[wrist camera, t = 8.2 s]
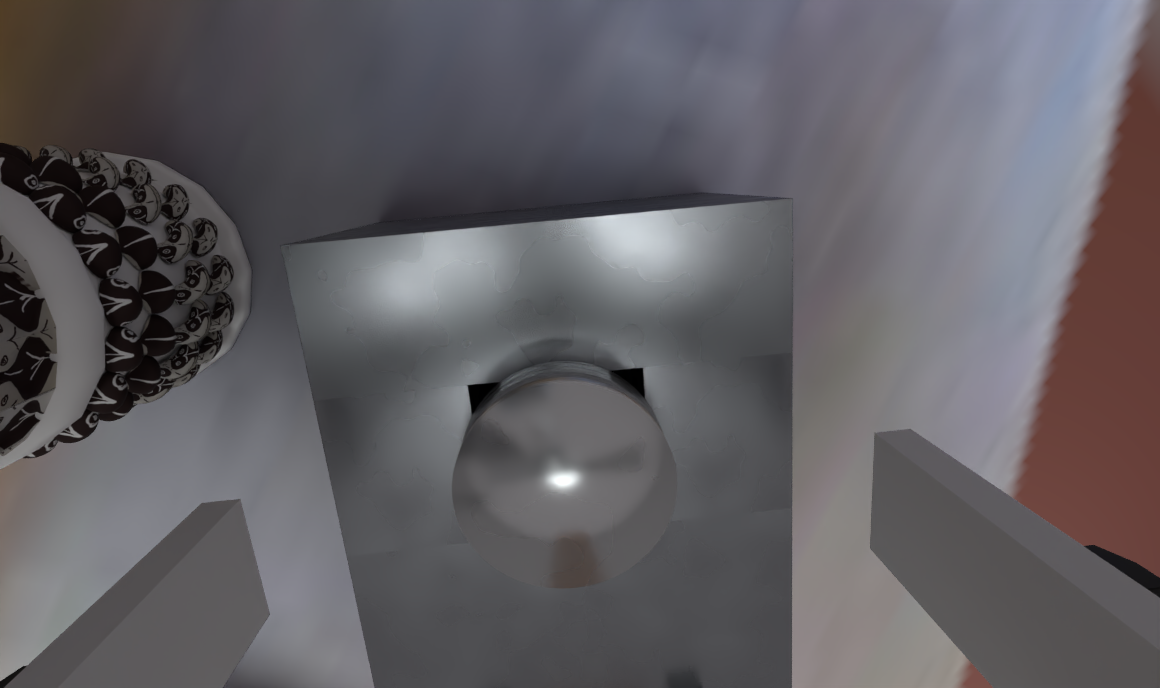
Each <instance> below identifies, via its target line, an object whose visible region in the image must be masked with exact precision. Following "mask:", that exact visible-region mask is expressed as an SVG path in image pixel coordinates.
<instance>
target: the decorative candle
mask: <svg viewBox="0 0 1160 688" xmlns="http://www.w3.org/2000/svg"><path fill="white" fill-rule="evenodd" d="M251 285H252V268H251V265H250V262H249V260H248V257H247V254H246V252H245V249H244V246H243V243H242V241H241V238H240V235H239V233H238V230H237V227H236V225H235V224H234V223H233V221H232V220H231V219H230V218H229V217H228V216H227V214H226V213H225V212H224V211H223V210H222V209H221V207H220V206H219V205H218V204H217V203H216V202H215V200H214V199H213V198H212V197H211V196H210V195H209V193H208V192H207V191H206V190H205V189H204V187H202V186H201V185H199V184H197V183H195V182H194V181H192V180H190V179H189V178H187V177H185V176H183V175H182V174H180V173H178V172H176V171H175V170H173V169H171V168H170V167H168V166H166V165H164V164H163V163H161V162H159V161H156V160H150V159H145V158H139V157H133V156H127V155H121V154H115V153H109V152H100V151H98V150H96V149H91V148H88V149H83V150H82V151H81V152H80V153H79V157H78V158H73V159H72V157H71V155H70V153H69V152H68V151H67V150H65V149H64V148H62V147H59V146H56V145H47V146H44V147H43V148H41V150H40V157H38V158H37V159H35V160H34V161H33V162H32V157H31V154H30V152H29V151H28V150H27V149H26V148H24V147H21V146H12V145H9V144H5V143H0V469H2V468H4V467H6V466H8V465H10V464H12V463H13V462H15V461H17V460H19V459H21V458H35V457H39V456H42V455H44V454H46V453H48V452H50V451H51V450H52V449H53V448H54V447H55V446H56V444H57V442H58V441H60V442H63V443H74V442H78V441H80V440H83V439H85V438H86V437H88V436H89V435H90V434H91V433H93V432H94V430H95V429H96V427H97V425H98V421H99V419H100V420H103V421H114V420H117V419H120V418H122V417H123V416H125V415H126V414H127V413H128V412H129V411H130V410H131V409H132V408H133V407H134V406H136V405H137V404H144V403H149V402H152V401H155V400H157V399H159V398H161V397H162V396H164V395H165V394H166V393H167V392H168V391H169V390H170V389H171V388H173V387H177V386H181V385H183V384H185V383H187V382H188V381H190V380H191V379H192V378H193V377H194V376H195V375H197V374H199V373H200V372H202V371H203V370H204V369H206V368H207V367H208V366H210V365H211V364H212V363H214V362H215V361H216V360H218V359H219V358H220V357H222V356H223V355H224V354H226V353H227V352H228V351H230V350H231V349H232V347H233V345H234V343H235V341H236V339H237V338H238V336H239V334H240V332H241V330H242V328H243V326H244V324H245V322H246V320H247V318H248V316H249V314H250V309H251Z"/></svg>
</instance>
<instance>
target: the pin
mask: <svg viewBox="0 0 1160 688" xmlns="http://www.w3.org/2000/svg"><path fill="white" fill-rule="evenodd" d="M676 496H677V472H676V465H675V461H674V458H673V454H672V451H671V449H670V447H669V444H668V442H667V440H666V438H665V436H664V434H663V431H662V429H661V427H660V425H659V423H658V421H657V419H656V416H655V414H654V412H653V410H652V409H651V407H650V406H649V404H648V402H647V401H646V400H645V398H644V397H643V396H642V395H641V394H640V392H639V391H638V390H637V389H635V388H634V387H633V386H632V385H631V384H630V383H629V382H627V381H626V380H624V379H623V378H622V377H620V376H619V375H617V374H615V373H613V372H611V371H609V370H607V369H604V368H601V367H599V366H596V365H592V364H588V363H583V362H575V361H552V362H546V363H540V364H537V365H533V366H530V367H527V368H524V369H522V370H520V371H518V372H515V373H514V374H512V375H510V376H509V377H507V378H505V379H504V380H502V381H501V382H500V383H498V384H497V385H496V386H495V387H493V388H492V389H491V390H490V391H489V392H488V393H487V394H486V396H485V397H484V398H483V399H482V400H481V402H480V403H479V404H478V406H477V407H476V409H475V411H474V413H473V414H472V416H471V418H470V420H469V423H468V426H467V429H466V431H465V434H464V437H463V441H462V444H461V447H460V450H459V453H458V456H457V459H456V462H455V467H454V471H453V477H452V499H453V506H454V510H455V514H456V518H457V520H458V523H459V525H460V528H461V530H462V532H463V533H464V535H465V537H466V539H467V540H468V542H469V543H470V544H471V546H472V547H473V548H474V550H475V551H476V552H477V553H478V554H479V555H480V556H481V557H482V558H483V559H484V560H485V561H486V562H488V563H489V564H490V565H492V566H493V567H494V568H495V569H497V570H499V571H500V572H502V573H504V574H505V575H507V576H509V577H512V578H514V579H516V580H518V581H521V582H524V583H528V584H531V585H534V586H540V587H546V588H559V589H565V588H578V587H584V586H590V585H593V584H597V583H600V582H604V581H606V580H609V579H611V578H613V577H616V576H618V575H619V574H621V573H623V572H625V571H627V570H628V569H630V568H631V567H632V566H634V565H635V564H637V563H638V562H639V561H640V560H642V559H643V558H644V557H645V556H646V555H647V554H648V553H649V552H650V551H651V550H652V548H653V547H654V546H655V545H656V544H657V542H658V541H659V540H660V538H661V536H662V535H663V533H664V532H665V530H666V528H667V526H668V524H669V522H670V519H671V517H672V514H673V510H674V507H675V503H676Z"/></svg>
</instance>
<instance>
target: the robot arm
mask: <svg viewBox="0 0 1160 688" xmlns="http://www.w3.org/2000/svg"><path fill="white" fill-rule="evenodd" d="M870 549H871V550H872V551H873V552H874V553H875V554H876V556H877V557H878V558H879V559H880V560H881V561H882V562H883V563H884V565H885V566H886V567H887V568H888V569H889V570H890V571H891V572H892V574H893V575H894V576H895V577H896V578H897V579H898V580H899V582H900V583H901V584H902V585H903V586H904V587H905V588H906V589H907V591H908V592H909V593H910V594H911V595H912V596H913V597H914V598H915V600H916V601H917V602H918V603H919V604H920V605H921V606H922V608H923V609H924V610H925V611H926V612H927V613H928V614H929V615H930V617H931V618H932V619H933V620H934V621H935V622H936V623H937V624H938V626H939V627H940V628H941V629H942V630H943V631H944V632H945V633H946V635H947V636H948V637H949V638H950V639H951V640H952V641H953V643H954V644H955V645H956V646H957V647H958V648H959V649H960V650H961V652H962V653H963V654H964V655H965V656H966V657H967V658H968V659H969V661H970V662H971V663H972V664H973V665H974V666H975V667H976V668H977V670H978V671H979V672H980V673H981V674H982V675H983V676H984V678H985V679H986V680H987V681H988V682H989V683H990V684H991V685H992V687H993V688H1160V578H1159V577H1157V576H1156V575H1154V574H1153V573H1151V572H1149V571H1148V570H1147V569H1145V568H1143V567H1142V566H1140V565H1139V564H1137V563H1135V562H1133V561H1131V560H1128V559H1126V558H1123V557H1121V556H1119V555H1116V554H1114V553H1112V552H1109V551H1107V550H1105V549H1102V548H1100V547H1097V546H1095V545H1089V546H1082V545H1081V544H1080V543H1078V542H1077V541H1075V540H1074V539H1072V538H1071V537H1069V536H1068V535H1066V534H1065V533H1063V532H1062V531H1060V530H1059V529H1057V528H1056V527H1055V526H1053V525H1052V524H1050V523H1049V522H1047V521H1045V520H1044V519H1042V518H1041V517H1040V516H1038V515H1037V514H1035V513H1034V512H1032V511H1031V510H1029V509H1028V508H1026V507H1025V506H1023V505H1022V504H1021V503H1019V502H1018V501H1016V500H1015V499H1013V498H1012V497H1010V496H1009V495H1007V494H1006V493H1004V492H1003V491H1001V490H1000V489H998V488H997V487H995V486H994V485H992V484H991V483H989V482H988V481H987V480H985V479H984V478H982V477H981V476H979V475H978V474H976V473H975V472H973V471H972V470H970V469H969V468H967V467H966V466H964V465H963V464H961V463H960V462H958V461H957V460H956V459H954V458H953V457H951V456H950V455H948V454H947V453H945V452H944V451H942V450H941V449H939V448H938V447H936V446H935V445H933V444H932V443H930V442H929V441H927V440H926V439H924V438H923V437H922V436H920V435H919V434H917V433H916V432H914V431H913V430H911V429H906V430H897V431H887V432H877V433H875V436H874V461H873V487H872V512H871V537H870ZM269 615H270V613H269V609H268V605H267V601H266V597H265V593H264V590H263V586H262V582H261V578H260V574H259V570H258V566H257V562H256V558H255V555H254V551H253V547H252V543H251V539H250V535H249V531H248V527H247V524H246V520H245V516H244V512H243V508H242V504H241V500H240V499H236V500H227V501H217V502H208V503H202V504H200V505H199V506H198V507H197V508H196V509H195V510H194V511H193V512H192V513H191V514H190V515H189V516H188V517H187V518H185V519H184V520H183V521H182V522H181V523H180V524H179V525H178V526H177V527H176V528H175V529H174V530H173V531H171V532H170V533H169V534H168V535H167V536H166V537H165V538H164V539H163V540H162V541H161V542H160V543H159V544H158V545H156V546H155V547H154V548H153V549H152V550H151V551H150V552H149V553H148V554H147V555H146V556H145V557H144V558H143V559H141V560H140V561H139V562H138V563H137V564H136V565H135V566H134V567H133V568H132V569H131V570H130V571H129V572H127V573H126V574H125V575H124V576H123V577H122V578H121V579H120V580H119V581H118V582H117V583H116V584H115V585H114V586H112V587H111V588H110V589H109V590H108V591H107V592H106V593H105V594H104V595H103V596H102V597H101V598H100V599H98V600H97V601H96V602H95V603H94V604H93V605H92V606H91V607H90V608H89V609H88V610H87V611H86V612H85V613H83V614H82V615H81V616H80V617H79V618H78V619H77V620H76V621H75V622H74V623H73V624H72V625H71V626H69V627H68V628H67V629H66V630H65V631H64V632H63V633H62V634H61V635H60V636H59V637H58V638H57V639H56V640H54V641H53V642H52V643H51V644H50V645H49V646H48V647H47V648H46V649H45V650H44V651H43V652H42V653H41V654H39V655H38V656H37V657H36V658H35V659H34V660H33V661H32V662H31V663H30V664H29V665H28V666H23V667H21V668H20V669H18V670H17V671H15V672H14V673H12V674H11V675H9V676H8V677H6V678H5V679H3V680H2V681H0V688H223V687H224V685H225V684H226V682H227V681H228V679H229V677H230V676H231V674H232V673H233V671H234V670H235V668H236V666H237V665H238V663H239V662H240V660H241V659H242V657H243V656H244V654H245V652H246V651H247V649H248V648H249V646H250V645H251V643H252V641H253V640H254V638H255V637H256V635H257V634H258V632H259V631H260V629H261V627H262V626H263V624H264V623H265V621H266V620H267V618H268V616H269Z"/></svg>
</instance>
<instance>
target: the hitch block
mask: <svg viewBox="0 0 1160 688" xmlns="http://www.w3.org/2000/svg"><path fill="white" fill-rule="evenodd" d="M281 251H282V255H283V260H284V265H285V269H286V274H287V279H288V283H289V288H290V293H291V298H292V302H293V307H294V312H295V316H296V321H297V326H298V330H299V335H300V340H301V344H302V349H303V354H304V358H305V363H306V368H307V373H308V377H309V382H310V387H311V391H312V396H313V401H314V405H315V410H316V415H317V419H318V424H319V429H320V434H321V438H322V443H323V448H324V452H325V457H326V462H327V466H328V471H329V476H330V480H331V485H332V490H333V494H334V499H335V504H336V509H337V513H338V518H339V523H340V527H341V532H342V537H343V541H344V546H345V551H346V555H347V560H348V565H349V570H350V574H351V579H352V584H353V588H354V593H355V598H356V602H357V607H358V612H359V616H360V621H361V626H362V630H363V635H364V640H365V645H366V649H367V654H368V659H369V663H370V668H371V673H372V677H373V682H374V687H375V688H792V327H793V198H780V197H764V196H749V195H733V194H718V193H694V194H683V195H672V196H661V197H650V198H639V199H629V200H618V201H607V202H596V203H585V204H574V205H564V206H553V207H542V208H531V209H520V210H509V211H498V212H488V213H477V214H466V215H455V216H444V217H433V218H423V219H412V220H401V221H390V222H379V223H374V224H370V225H366V226H362V227H358V228H353V229H349V230H345V231H341V232H337V233H332V234H328V235H324V236H320V237H316V238H311V239H307V240H303V241H299V242H295V243H290V244H286V245H282V246H281ZM552 361H575V362H583V363H588V364H592V365H596V366H599V367H601V368H604V369H607V370H609V371H612V370H615V374H617V375H619V376H620V377H622V378H623V379H624V380H626V381H627V382H629V383H630V384H631V385H632V386H633V387H634V388H635V389H637V390H638V391H639V392H640V394H641V395H642V396H643V397H644V398H645V400H646V401H647V402H648V404H649V406H650V407H651V409H652V410H653V412H654V414H655V416H656V419H657V421H658V423H659V425H660V427H661V429H662V431H663V434H664V436H665V438H666V440H667V442H668V444H669V447H670V449H671V451H672V454H673V458H674V461H675V465H676V472H677V496H676V503H675V507H674V510H673V514H672V517H671V519H670V522H669V524H668V526H667V528H666V530H665V532H664V533H663V535H662V536H661V538H660V540H659V541H658V542H657V544H656V545H655V546H654V547H653V548H652V550H651V551H650V552H649V553H648V554H647V555H646V556H645V557H644V558H643V559H642V560H640V561H639V562H638V563H637V564H635V565H634V566H632V567H631V568H630V569H628V570H627V571H625V572H623V573H621V574H619V575H618V576H616V577H613V578H611V579H609V580H606V581H604V582H600V583H597V584H593V585H590V586H584V587H578V588H565V589H559V588H546V587H540V586H534V585H531V584H528V583H524V582H521V581H518V580H516V579H514V578H512V577H509V576H507V575H505V574H504V573H502V572H500V571H499V570H497V569H495V568H494V567H493V566H492V565H490V564H489V563H488V562H486V561H485V560H484V559H483V558H482V557H481V556H480V555H479V554H478V553H477V552H476V551H475V550H474V548H473V547H472V546H471V544H470V543H469V542H468V540H467V539H466V537H465V535H464V533H463V532H462V530H461V528H460V525H459V523H458V520H457V518H456V514H455V510H454V506H453V499H452V477H453V471H454V467H455V462H456V459H457V456H458V453H459V450H460V447H461V444H462V441H463V437H464V434H465V431H466V429H467V426H468V423H469V420H470V418H471V416H472V414H473V413H474V411H475V409H476V407H477V406H478V404H479V403H480V402H481V400H482V399H483V398H484V397H485V396H486V394H487V393H488V392H489V391H490V390H491V389H492V388H493V387H495V386H496V385H497V384H498V383H500V382H501V381H502V380H504V379H505V378H507V377H509V376H510V375H512V374H514V373H515V372H518V371H520V370H522V369H524V368H527V367H530V366H533V365H537V364H540V363H546V362H552Z"/></svg>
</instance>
